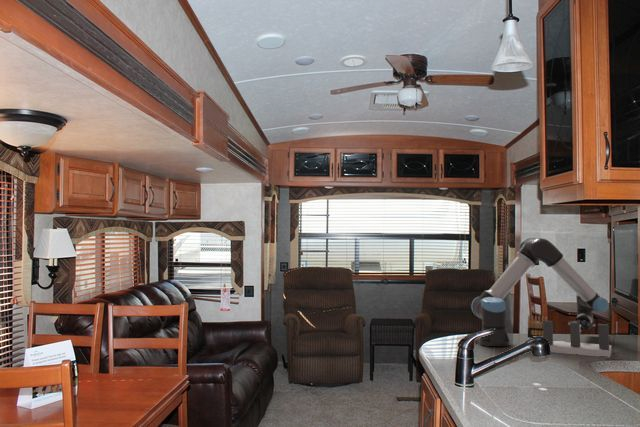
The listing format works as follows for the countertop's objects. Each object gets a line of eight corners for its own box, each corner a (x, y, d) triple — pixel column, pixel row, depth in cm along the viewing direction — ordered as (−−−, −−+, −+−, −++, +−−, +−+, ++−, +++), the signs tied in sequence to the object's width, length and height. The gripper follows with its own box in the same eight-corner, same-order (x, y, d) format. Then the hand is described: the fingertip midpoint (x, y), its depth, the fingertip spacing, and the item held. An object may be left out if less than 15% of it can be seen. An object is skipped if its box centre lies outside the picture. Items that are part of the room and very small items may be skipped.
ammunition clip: (527, 336, 295) (526, 314, 296) (528, 336, 297) (527, 314, 297) (548, 338, 290) (547, 316, 290) (549, 338, 291) (548, 315, 292)
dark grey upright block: (580, 346, 254) (579, 323, 254) (570, 346, 256) (569, 322, 256) (580, 345, 256) (579, 322, 256) (571, 345, 258) (570, 322, 258)
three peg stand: (610, 357, 246) (609, 325, 247) (542, 351, 261) (541, 321, 261) (611, 351, 257) (610, 321, 258) (546, 346, 272) (545, 317, 272)
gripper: (597, 330, 282) (593, 338, 262) (569, 328, 289) (564, 336, 269) (596, 315, 282) (592, 322, 262) (569, 314, 289) (563, 321, 269)
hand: (578, 329), depth 265 cm, fingers closed
